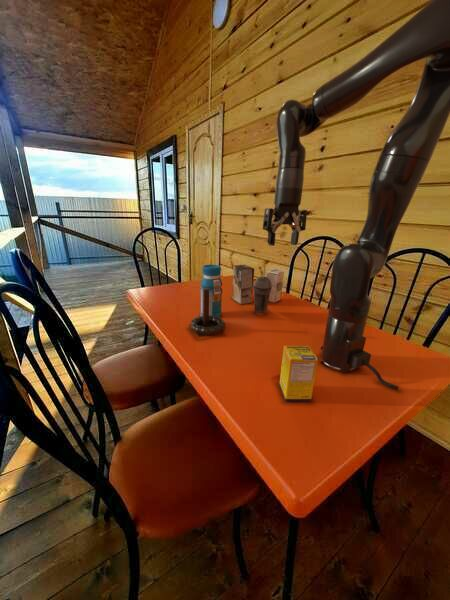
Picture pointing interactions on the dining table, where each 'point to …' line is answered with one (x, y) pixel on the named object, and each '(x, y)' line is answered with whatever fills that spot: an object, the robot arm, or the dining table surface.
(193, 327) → the ring
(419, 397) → the dining table surface
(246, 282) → the coffee box
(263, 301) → the beverage cup
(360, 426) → the dining table surface
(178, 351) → the dining table surface
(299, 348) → the supplement box
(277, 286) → the syrup box
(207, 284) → the beverage bottle
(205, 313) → the stand
